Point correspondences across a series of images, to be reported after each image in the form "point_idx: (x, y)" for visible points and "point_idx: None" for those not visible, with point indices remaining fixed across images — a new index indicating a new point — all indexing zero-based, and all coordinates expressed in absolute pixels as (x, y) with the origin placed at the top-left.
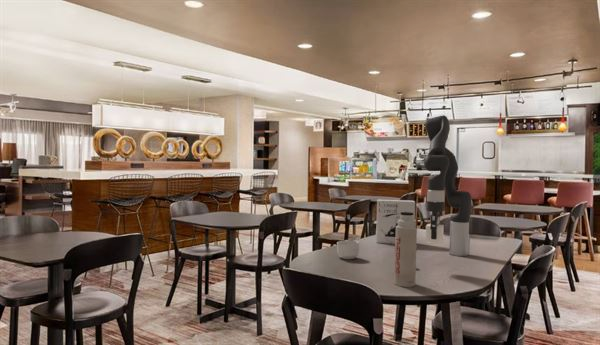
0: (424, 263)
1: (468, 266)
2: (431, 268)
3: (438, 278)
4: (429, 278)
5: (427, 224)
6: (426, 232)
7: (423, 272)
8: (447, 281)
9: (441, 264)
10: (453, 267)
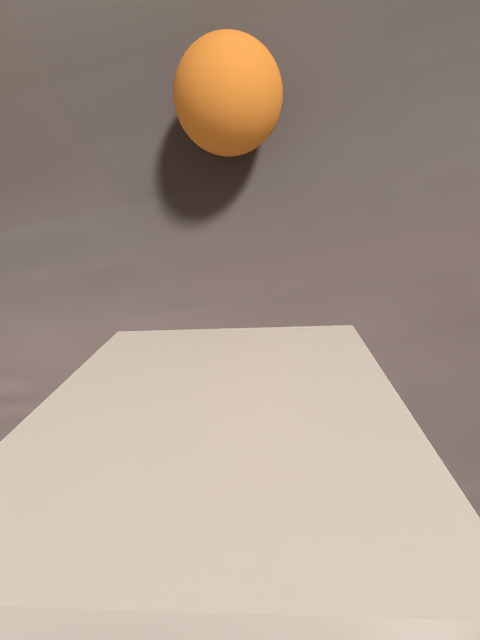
0: (459, 212)
1: (474, 493)
2: (295, 292)
3: (40, 368)
4: (3, 321)
5: (309, 618)
6: (15, 442)
7: (136, 260)
8: (8, 417)
9: (472, 338)
10: None
